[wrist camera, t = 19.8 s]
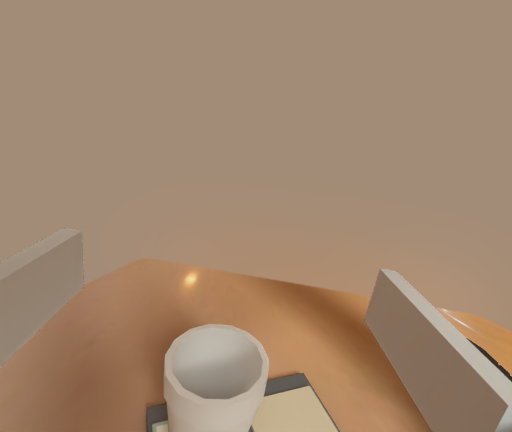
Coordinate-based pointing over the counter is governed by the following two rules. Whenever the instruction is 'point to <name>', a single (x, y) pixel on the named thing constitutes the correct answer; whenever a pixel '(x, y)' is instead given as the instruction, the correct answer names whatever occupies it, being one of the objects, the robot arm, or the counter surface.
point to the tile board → (273, 409)
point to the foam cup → (214, 379)
